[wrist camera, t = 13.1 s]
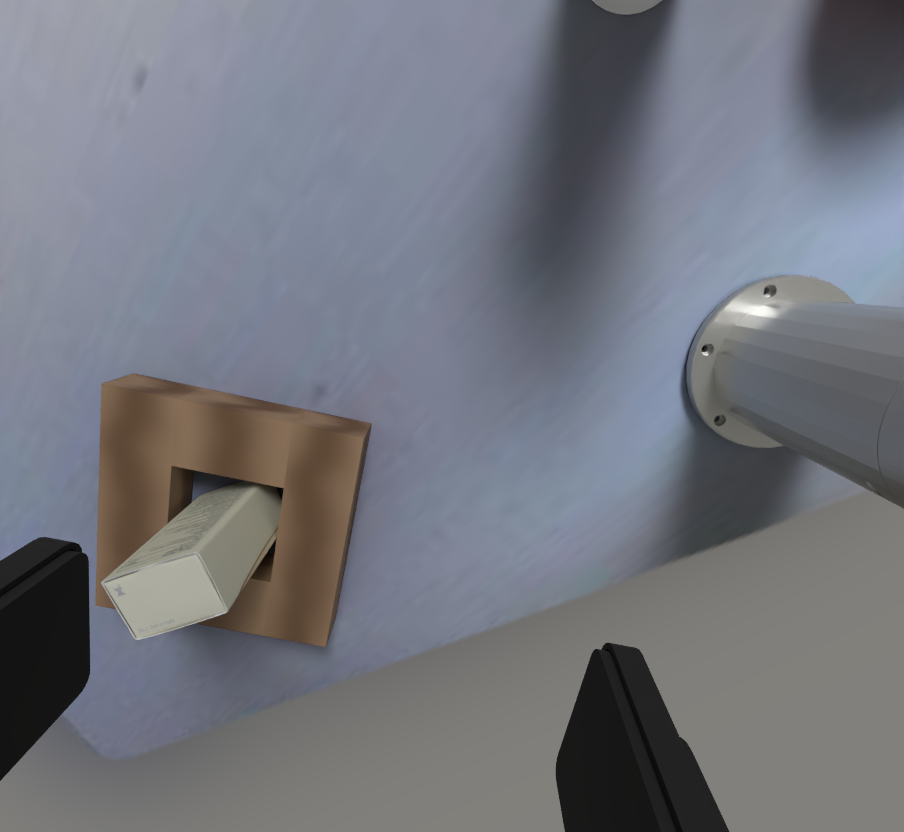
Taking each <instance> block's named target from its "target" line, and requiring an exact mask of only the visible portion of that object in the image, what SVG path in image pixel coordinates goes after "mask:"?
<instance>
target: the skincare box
mask: <svg viewBox="0 0 904 832" xmlns="http://www.w3.org/2000/svg"><path fill="white" fill-rule="evenodd" d="M281 504H282V499H281V497H280V495H279V493H278V490H277V488H276V487H275V486H270V485H265V484H260V483H255V482H250V481H245V480H244V481H241V482H238V483H234V484H231V485H228V486H225V487H222V488H219V489H216V490H213V491H210V492H207V493H204V494H201V495H200V496H199V497H197V498H196V499H195V500H194V501H193V502H192V503H191V504H190V505H188V506H187V507H186V508H185V509H184V510H183V511H182V512H180V513H179V514H178V515H177V516H176V517H175V518H173V519H172V520H171V521H170V522H169V523H168V524H167V525H166V526H164V527H163V528H162V529H161V530H160V531H159V532H158V533H157V534H155V535H154V536H153V537H152V538H151V539H150V540H148V541H147V542H146V543H145V544H144V545H143V546H142V547H140V548H139V549H138V550H137V551H136V552H135V553H134V554H132V555H131V556H130V557H129V558H128V559H127V560H126V561H125V562H123V563H122V564H121V565H120V566H119V567H118V568H116V569H115V570H114V571H113V572H112V573H111V574H110V575H109V576H107V577H106V578H105V579H104V580H103V581H102V582H101V584H102V586H103V587H104V589H105V590H106V592H107V594H108V596H109V597H110V599H111V601H112V602H113V604H114V606H115V608H116V609H117V611H118V613H119V614H120V616H121V618H122V620H123V621H124V623H125V624H126V626H127V627H128V629H129V631H130V632H131V634H132V635H133V637H134V638H135V639H136V640H140V639H144V638H148V637H152V636H155V635H159V634H162V633H166V632H169V631H172V630H176V629H179V628H182V627H185V626H189V625H191V624H195V623H198V622H201V621H204V620H207V619H210V618H213V617H216V616H219V615H222V614H225V613H227V612H228V611H229V609H230V608H231V606H232V605H233V603H234V602H235V600H236V599H237V597H238V595H239V594H240V592H241V591H242V590H243V588H244V586H245V585H246V584H247V582H248V580H249V579H250V577H251V576H252V574H253V573H254V571H255V570H256V568H257V567H258V565H259V564H260V562H261V561H262V559H263V558H264V556H265V555H266V553H267V552H268V550H269V549H270V547H271V546H272V544H273V543H274V541H275V540H276V538H277V533H278V526H279V518H280V511H281Z"/></svg>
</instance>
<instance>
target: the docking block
mask: <svg viewBox="0 0 904 832" xmlns="http://www.w3.org/2000/svg"><path fill="white" fill-rule="evenodd" d="M370 430H371V423H366V422H362V421H357V420H352V419H347V418H343V417H338V416H333V415H328V414H324V413H319V412H314V411H309V410H305V409H300V408H295V407H290V406H286V405H281V404H276V403H271V402H267V401H262V400H257V399H252V398H248V397H243V396H238V395H233V394H229V393H224V392H219V391H214V390H209V389H205V388H200V387H195V386H190V385H186V384H181V383H176V382H171V381H167V380H162V379H157V378H152V377H148V376H143V375H138V374H130V375H127V376H124V377H121V378H118V379H115V380H111V381H108V382H105V383H102V390H101V426H100V462H99V498H98V534H97V570H96V606H102V607H107V608H113V609H116V608H115V606H114V604H113V602H112V601H111V599H110V597H109V596H108V594H107V592H106V590H105V589H104V587H103V586H102V584H101V582H102V581H103V580H104V579H105V578H106V577H107V576H109V575H110V574H111V573H112V572H113V571H114V570H115V569H116V568H118V567H119V566H120V565H121V564H122V563H123V562H125V561H126V560H127V559H128V558H129V557H130V556H131V555H132V554H134V553H135V552H136V551H137V550H138V549H139V548H140V547H142V546H143V545H144V544H145V543H146V542H147V541H148V540H150V539H151V538H152V537H153V536H154V535H155V534H157V533H158V532H159V531H160V530H161V529H162V528H163V527H164V526H166V525H167V524H168V523H169V522H170V521H171V520H172V519H173V518H175V517H176V516H177V515H178V514H179V513H180V512H182V511H183V510H184V509H185V508H186V507H187V506H188V505H190V504H191V498H192V487H193V475H194V470H195V471H200V472H205V473H210V474H215V475H220V476H225V477H230V478H235V479H240V480H245V481H250V482H255V483H260V484H265V485H270V486H275V487H280V488H284V490H283V497H282V504H281V511H280V518H279V526H278V533H277V540H276V547H275V554H274V555H272V554H266V555H265V556H264V558H263V559H262V561H261V562H260V564H259V565H258V567H257V568H256V570H255V571H254V573H253V574H252V576H251V577H250V579H249V580H248V582H247V584H246V585H245V586H244V588H243V590H242V591H241V592H240V594H239V595H238V597H237V599H236V600H235V602H234V603H233V605H232V606H231V608H230V609H229V611H228V612H227V613H225V614H222V615H219V616H216V617H213V618H210V619H207V620H204V621H201V622H198V623H195V624H201V625H206V626H212V627H217V628H223V629H228V630H234V631H239V632H245V633H250V634H256V635H261V636H267V637H272V638H278V639H284V640H289V641H295V642H300V643H306V644H311V645H317V646H322V647H326V645H327V642H328V639H329V636H330V633H331V630H332V627H333V624H334V621H335V618H336V613H337V607H338V602H339V597H340V591H341V586H342V580H343V575H344V570H345V564H346V559H347V554H348V548H349V543H350V537H351V532H352V527H353V521H354V516H355V510H356V505H357V500H358V494H359V489H360V484H361V478H362V473H363V467H364V462H365V457H366V451H367V446H368V440H369V435H370Z"/></svg>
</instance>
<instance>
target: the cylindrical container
mask: <svg viewBox="0 0 904 832" xmlns="http://www.w3.org/2000/svg"><path fill="white" fill-rule="evenodd" d="M592 1H593V2H594V3H595V4H596V5H598V6H599V7H601V8H603V9H604V10H606V11H609V12H612V13H616V14H625V15H631V14H636V13H641V12H643V11H646V10H648V9H650V8H652V7H654V6H655V5H657V4H658V3H660V2H661V1H662V0H592Z"/></svg>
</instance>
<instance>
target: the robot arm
mask: <svg viewBox="0 0 904 832" xmlns="http://www.w3.org/2000/svg"><path fill="white" fill-rule="evenodd" d="M764 289H765V292H764ZM703 346H705V349H704V350H703V351H702V347H703ZM686 382H687V388H688V393H689V397H690V400H691V402H692V405H693V407H694V409H695V411H696V412H697V414H698V415H699V417H700V418H701V419H702V421H703V422H704V423H705V424H706V425H707V426H708V427H709V428H711V429H712V430H713V431H714V432H716V433H717V434H719V435H720V436H722V437H724V438H725V439H727V440H729V441H732V442H734V443H736V444H739V445H743V446H747V447H752V448H775V447H782V446H786V447H788V448H790V449H792V450H793V451H795V452H797V453H799V454H801V455H803V456H805V457H807V458H809V459H810V460H812V461H814V462H816V463H818V464H820V465H822V466H824V467H826V468H828V469H829V470H831V471H833V472H835V473H837V474H839V475H841V476H843V477H845V478H847V479H848V480H850V481H852V482H854V483H856V484H858V485H860V486H862V487H864V488H866V489H867V490H869V491H871V492H873V493H875V494H877V495H879V496H881V497H883V498H884V499H886V500H888V501H890V502H892V503H894V504H896V505H898V506H900V507H902V508H903V509H904V308H902V307H889V306H877V305H865V304H856V303H855V302H854V301H853V300H852V299H851V298H850V297H849V296H848V295H847V294H846V293H845V292H844V291H843V290H841V289H840V288H838V287H836V286H835V285H833V284H832V283H830V282H827V281H824V280H821V279H819V278H816V277H808V276H801V275H781V276H775V277H769V278H764V279H761V280H759V281H756V282H753V283H750V284H748V285H746V286H744V287H742V288H741V289H739V290H737V291H735V292H734V293H732V294H731V295H729V296H728V297H727V298H726V299H725V300H723V301H722V302H721V303H720V304H718V305H717V306H716V308H715V309H714V310H713V311H712V312H711V313H710V314H709V316H708V317H707V318H706V319H705V321H704V322H703V324H702V326H701V327H700V329H699V330H698V332H697V334H696V336H695V338H694V341H693V343H692V346H691V348H690V352H689V357H688V361H687V372H686ZM716 416H717V418H716V419H715V417H716ZM714 419H715V420H714ZM89 675H90V629H89V561H88V557H87V555H86V554H84V553H82V549H81V547H80V545H79V544H77V543H74V542H69V541H63V540H58V539H53V538H47V537H41V538H38V539H36V540H33V541H32V542H30V543H29V544H27V545H25V546H24V547H22V548H21V549H19V550H17V551H16V552H14V553H12V554H11V555H9V556H8V557H6V558H4V559H3V560H1V561H0V781H1V780H2V778H3V777H4V776H5V775H6V774H7V773H8V772H9V771H10V770H11V769H12V767H13V766H14V765H15V764H16V763H17V762H18V761H19V760H20V759H21V758H22V757H23V755H24V754H25V753H26V752H27V751H28V750H29V749H30V748H31V747H32V746H33V745H34V744H35V742H36V741H37V740H38V739H39V738H40V737H41V736H42V735H43V734H44V733H45V732H46V730H47V729H48V728H49V727H50V726H51V725H52V724H53V723H54V722H55V720H57V719H58V717H59V716H60V715H61V714H62V713H63V712H64V711H65V710H66V709H67V708H68V707H69V705H70V704H71V703H72V702H73V701H74V700H75V699H76V698H77V697H78V696H79V694H80V693H81V692H82V690H83V689H84V687H85V685H86V683H87V681H88V678H89ZM556 781H557V788H558V793H559V799H560V805H561V811H562V817H563V823H564V828H565V832H729V830H728V828H727V826H726V824H725V822H724V819H723V817H722V815H721V813H720V811H719V809H718V806H717V804H716V802H715V800H714V798H713V796H712V794H711V791H710V789H709V788H708V785H707V783H706V781H705V778H704V776H703V774H702V772H701V770H700V768H699V765H698V763H697V761H696V759H695V757H694V755H693V753H692V751H691V749H690V747H689V746H688V744H687V743H686V742H685V741H684V740H683V739H682V738H681V737H679V735H678V733H677V730H676V728H675V726H674V724H673V722H672V719H671V717H670V715H669V713H668V710H667V708H666V706H665V704H664V702H663V699H662V697H661V695H660V693H659V690H658V688H657V686H656V684H655V682H654V679H653V677H652V675H651V673H650V671H649V668H648V666H647V664H646V662H645V659H644V657H643V655H642V653H641V652H640V650H639V649H637V648H634V647H628V646H623V645H617V644H612V643H606V644H605V645H604V646H603V648H602V650H599V649H595V650H594V651H593V653H592V655H591V658H590V661H589V664H588V667H587V670H586V673H585V676H584V679H583V682H582V685H581V688H580V691H579V694H578V697H577V700H576V703H575V706H574V709H573V712H572V715H571V718H570V721H569V723H568V726H567V730H566V732H565V735H564V739H563V741H562V745H561V748H560V750H559V753H558V757H557V762H556Z"/></svg>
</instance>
